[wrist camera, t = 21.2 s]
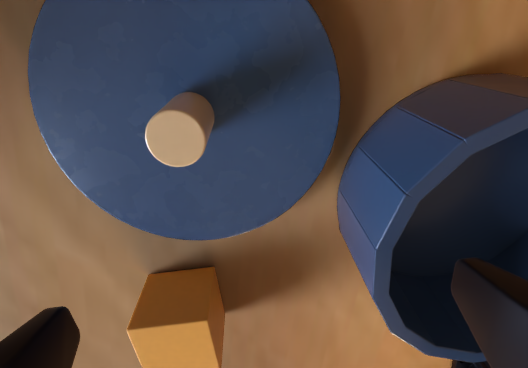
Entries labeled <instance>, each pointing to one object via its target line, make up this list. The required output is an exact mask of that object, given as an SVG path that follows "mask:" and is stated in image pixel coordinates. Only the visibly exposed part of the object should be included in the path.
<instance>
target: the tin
mask: <svg viewBox="0 0 528 368" xmlns="http://www.w3.org/2000/svg"><path fill="white" fill-rule="evenodd" d="M337 211H338V220H339V229H340V232H341V234H342V236H343V238H344V240H345V242H346V244H347V246H348V248H349V250H350V253H351V255H352V257H353V259H354V261H355V263H356V265H357V267H358V269H359V271H360V273H361V276H362V278H363V280H364V282H365V284H366V286H367V288H368V290H369V292H370V294H371V296H372V299H373V300H374V302H375V304H376V306H377V308H378V310H379V312H380V314H381V315H382V317H383V319H384V321H385V323H386V325H387V327H388V328H389V330H390V332H391V333H392V334H393V335H395V336H396V337H398V338H400V339H401V340H403V341H404V342H406V343H408V344H409V345H411V346H412V347H414V348H416V349H417V350H419V351H421V352H422V353H424V354H425V355H426V354H427V355H429V356H435V357H441V358H447V359H453V360H459V361H465V362H472V363H474V362H482V361H487V360H486V358H485V356H484V354H483V353H482V351H481V349H480V347H479V345H478V343H477V341H476V339H475V338H474V336H473V334H472V332H471V330H470V328H469V326H468V324H467V322H466V320H465V318H464V317H463V315H462V313H461V311H460V309H459V307H458V305H457V303H456V301H455V299H454V297H453V295H452V292H451V282H452V277H453V272H454V267H455V263H456V262H457V260H459V259H463V258H472V257H476V258H480V259H482V260H484V261H486V262H488V263H491V264H493V265H495V266H497V267H499V268H501V269H504V270H506V271H508V272H510V273H512V274H514V275H517V276H519V277H521V278H523V279H525V280H527V281H528V77H522V76H516V75H510V74H504V73H496V74H477V75H465V76H460V77H455V78H450V79H447V80H444V81H441V82H437V83H434V84H432V85H430V86H427V87H425V88H423V89H421V90H419V91H416V92H415V93H413V94H411V95H410V96H408V97H406V98H405V99H403V100H401V101H400V102H399V103H397V104H396V105H395V106H393V107H392V108H391V109H389V110H388V111H387V112H386V113H384V114H383V115H382V116H381V117H380V118H379V119H378V120H377V121H376V122H375V123H374V124H373V125H372V126H371V127H370V129H369V130H368V131H367V132H366V133H365V134H364V136H363V137H362V138H361V140H360V141H359V143H358V144H357V146H356V147H355V149H354V150H353V152H352V154H351V156H350V158H349V160H348V162H347V164H346V166H345V169H344V172H343V175H342V177H341V181H340V186H339V190H338V199H337Z"/></svg>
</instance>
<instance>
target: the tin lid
mask: <svg viewBox="0 0 528 368" xmlns="http://www.w3.org/2000/svg"><path fill="white" fill-rule="evenodd" d="M28 79H29V91H30V97H31V102H32V106H33V111H34V115H35V118H36V121H37V123H38V126H39V129H40V132H41V134H42V136H43V138H44V140H45V143H46V145H47V147H48V149H49V151H50V152H51V154H52V156H53V157H54V159H55V160H56V162H57V163H58V165H59V166H60V168H61V169H62V170H63V172H64V173H65V174H66V175H67V177H68V178H69V179H70V180H71V181H72V183H73V184H74V185H75V186H76V187H77V188H78V189H79V190H80V191H81V192H82V193H83V194H84V195H85V196H86V197H87V198H89V199H90V200H91V201H93V202H94V203H95V204H96V205H98V206H99V207H100V208H101V209H103V210H104V211H106V212H108V213H109V214H111V215H112V216H114V217H116V218H117V219H119V220H121V221H123V222H125V223H127V224H129V225H131V226H133V227H136V228H138V229H141V230H144V231H146V232H149V233H153V234H156V235H160V236H164V237H169V238H176V239H183V240H213V239H221V238H227V237H232V236H236V235H239V234H243V233H246V232H249V231H251V230H254V229H256V228H259V227H261V226H263V225H265V224H267V223H269V222H270V221H272V220H274V219H276V218H277V217H279V216H280V215H281V214H283V213H284V212H285V211H287V210H288V209H290V208H291V207H292V206H293V205H294V204H295V203H296V202H297V201H298V200H299V199H300V198H301V197H302V196H303V195H304V194H305V193H306V192H307V190H308V189H309V188H310V187H311V186H312V184H313V183H314V181H315V180H316V178H317V177H318V175H319V174H320V172H321V171H322V169H323V167H324V165H325V163H326V161H327V158H328V156H329V154H330V152H331V149H332V146H333V143H334V139H335V136H336V132H337V127H338V121H339V114H340V83H339V74H338V69H337V64H336V59H335V55H334V52H333V49H332V46H331V43H330V40H329V37H328V35H327V33H326V31H325V29H324V27H323V25H322V23H321V21H320V19H319V17H318V15H317V13H316V12H315V10H314V9H313V7H312V6H311V4H310V3H309V1H308V0H46V1H45V2H44V4H43V6H42V8H41V10H40V13H39V16H38V18H37V21H36V24H35V26H34V29H33V34H32V39H31V44H30V49H29V62H28Z"/></svg>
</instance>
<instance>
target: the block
mask: <svg viewBox="0 0 528 368" xmlns="http://www.w3.org/2000/svg"><path fill="white" fill-rule="evenodd" d="M224 321H225V312H224V307H223V303H222V298H221V294H220V289H219V285H218V280H217V275H216V271H215V267H206V268H198V269H190V270H181V271H173V272H165V273H156V274H149V275H148V277H147V280H146V282H145V285H144V287H143V290H142V292H141V295H140V297H139V300H138V302H137V305H136V307H135V310H134V312H133V315H132V317H131V320H130V323H129V325H128V328H127V333H128V335H129V338H130V340H131V342H132V345H133V347H134V349H135V352H136V354H137V357H138V359H139V361H140V364H141V366H142V368H221V364H222V350H223V335H224Z"/></svg>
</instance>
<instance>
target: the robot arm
mask: <svg viewBox="0 0 528 368" xmlns="http://www.w3.org/2000/svg"><path fill="white" fill-rule="evenodd" d="M451 292H452V295H453V297H454V299H455V301H456V303H457V305H458V307H459V309H460V311H461V313H462V315H463V317H464V318H465V320H466V322H467V324H468V326H469V328H470V330H471V332H472V334H473V336H474V338H475V339H476V341H477V343H478V345H479V347H480V349H481V351H482V353H483V354H484V356H485V358H486V360H487V361H482V362H474V363H472V362H465V361H459V360H453V364H452V368H528V281H527V280H525V279H523V278H521V277H519V276H517V275H514V274H512V273H510V272H508V271H506V270H504V269H501V268H499V267H497V266H495V265H493V264H491V263H488V262H486V261H484V260H482V259H480V258H476V257H472V258H463V259H459V260H457V262H456V263H455V267H454V272H453V277H452V282H451ZM79 341H80V332H79V329H78V327H77V325H76V323H75V321H74V319H73V317H72V315H71V313H70V311H69V310H68V309H67V308H66V307H63V306H62V307H53V308H47V309H45V310H43V311H42V312H40V313H39V314H37V315H36V316H35V317H33V318H32V319H31V320H29V321H28V322H27V323H25V324H24V325H22V326H21V327H20V328H18V329H17V330H16V331H14V332H13V333H12V334H10V335H9V336H7V337H6V338H5V339H3V340H2V341H1V342H0V368H72V365H73V361H74V358H75V355H76V351H77V348H78V345H79Z"/></svg>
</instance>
